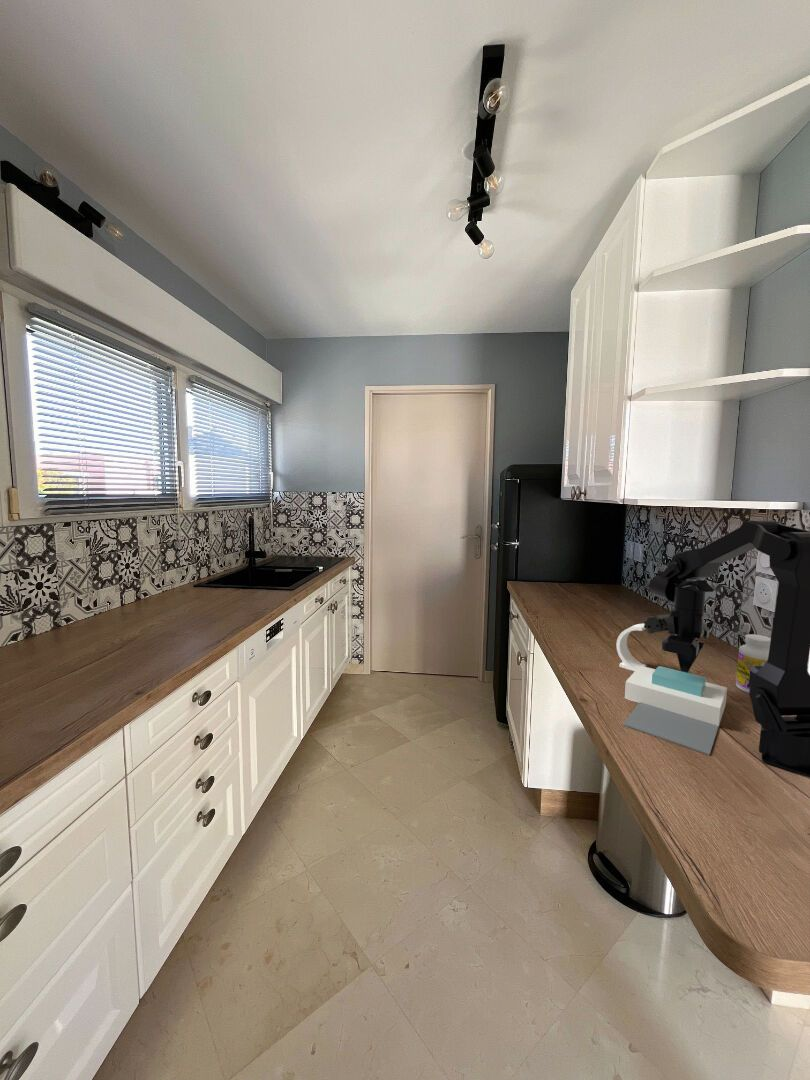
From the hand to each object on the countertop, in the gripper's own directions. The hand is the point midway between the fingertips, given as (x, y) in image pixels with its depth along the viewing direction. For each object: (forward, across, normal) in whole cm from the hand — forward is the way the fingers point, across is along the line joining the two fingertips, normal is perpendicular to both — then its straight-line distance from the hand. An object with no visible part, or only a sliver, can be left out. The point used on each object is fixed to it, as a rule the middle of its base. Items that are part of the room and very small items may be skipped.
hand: (684, 673), depth 95 cm
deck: (+5, +6, -1) cm, 8 cm away
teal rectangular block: (+1, +6, 0) cm, 6 cm away
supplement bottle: (+5, -13, +12) cm, 18 cm away
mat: (+5, +18, +1) cm, 19 cm away
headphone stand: (+5, -8, -13) cm, 16 cm away
